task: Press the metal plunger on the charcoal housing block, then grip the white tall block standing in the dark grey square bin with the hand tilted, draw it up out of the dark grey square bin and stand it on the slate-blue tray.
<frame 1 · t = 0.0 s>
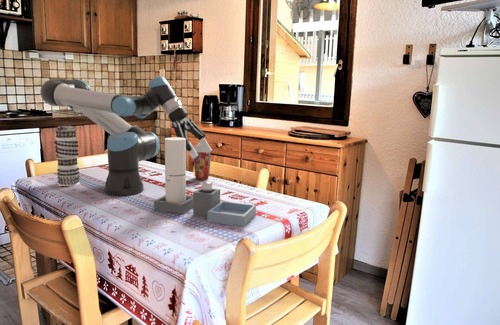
hand: (202, 154, 160), 15 cm above the table, tool tilted 35°, fingers open, 13 cm apart
decorative candle: (69, 184, 166), on the table
smoothie: (202, 179, 183), on the table
dark grey square bin: (175, 207, 139), on the table
white tall block: (175, 208, 139), resting in dark grey square bin
tray: (232, 218, 130), on the table
plunger: (206, 188, 133), point 9 cm above the table, slide at 0.0 cm
housing block: (206, 213, 134), on the table
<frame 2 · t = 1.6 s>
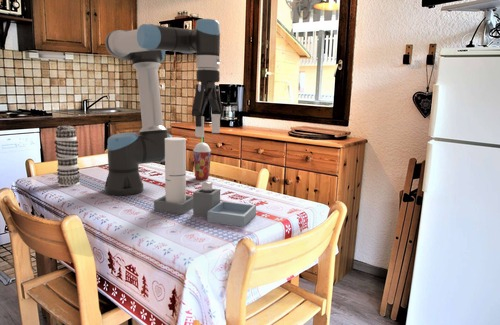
hand: (208, 134, 130), 27 cm above the table, tool pointing down, fingers open, 13 cm apart
nothing on the table moved.
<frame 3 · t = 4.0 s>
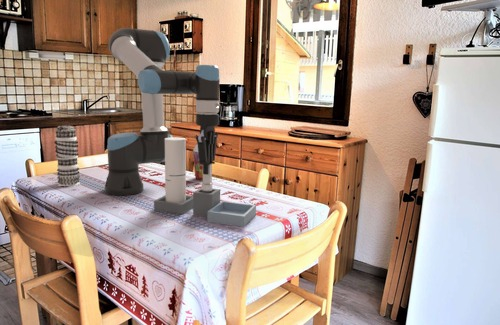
hand: (207, 182, 132), 11 cm above the table, tool pointing down, fingers closed
plunger: (206, 189, 133), point 9 cm above the table, slide at 0.5 cm, touching gripper
everything else where it was.
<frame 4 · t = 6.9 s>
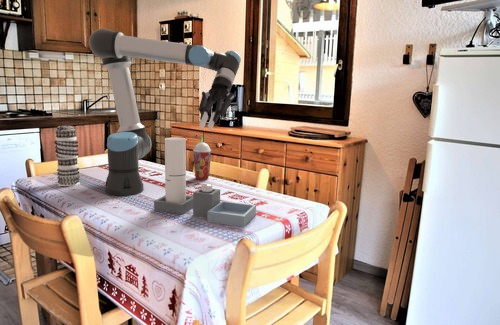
hand: (205, 127, 143), 28 cm above the table, tool tilted 45°, fingers open, 3 cm apart
plunger: (206, 190, 133), point 8 cm above the table, slide at 1.0 cm
everything else where it was.
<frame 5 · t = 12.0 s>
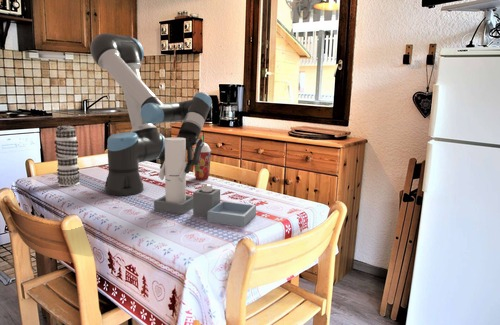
hand: (170, 178, 133), 12 cm above the table, tool tilted 45°, fingers closed on white tall block, 7 cm apart
white tall block: (175, 208, 139), resting in dark grey square bin, touching gripper
everything else where it was.
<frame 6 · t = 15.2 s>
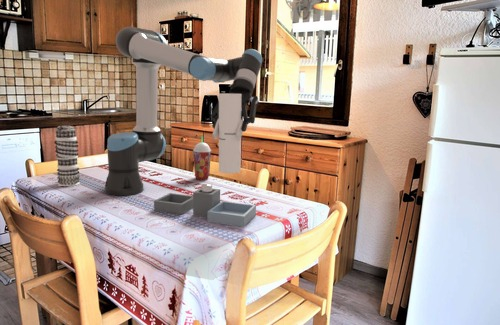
hand: (226, 137, 122), 28 cm above the table, tool tilted 45°, fingers closed on white tall block, 7 cm apart
white tall block: (229, 171, 127), point 16 cm above the table, touching gripper
everything else where it was.
when the fingers open (14 cm above the table, at t = 18.2 s): white tall block drops 1 cm, resting on tray.
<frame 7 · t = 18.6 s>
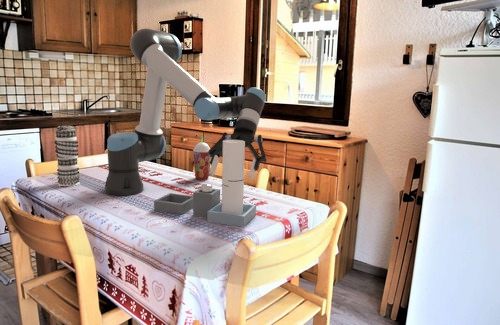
hand: (230, 175, 125), 15 cm above the table, tool tilted 45°, fingers open, 13 cm apart
white tall block: (232, 215, 130), point 1 cm above the table, touching tray
everything else where it was.
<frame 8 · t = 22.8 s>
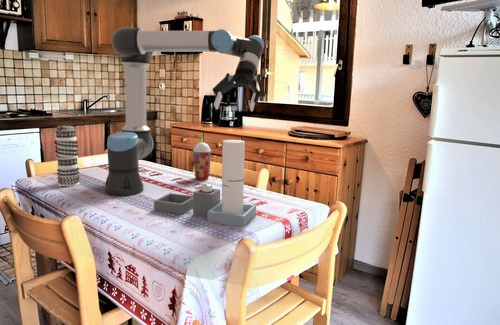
hand: (233, 107, 140), 36 cm above the table, tool tilted 45°, fingers open, 13 cm apart
nothing on the table moved.
at the end: white tall block inside the target area on the tray (0.1 cm from its centre), point 0.8 cm above the tray's base; white tall block tilted 0°; the gripper is holding nothing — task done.
